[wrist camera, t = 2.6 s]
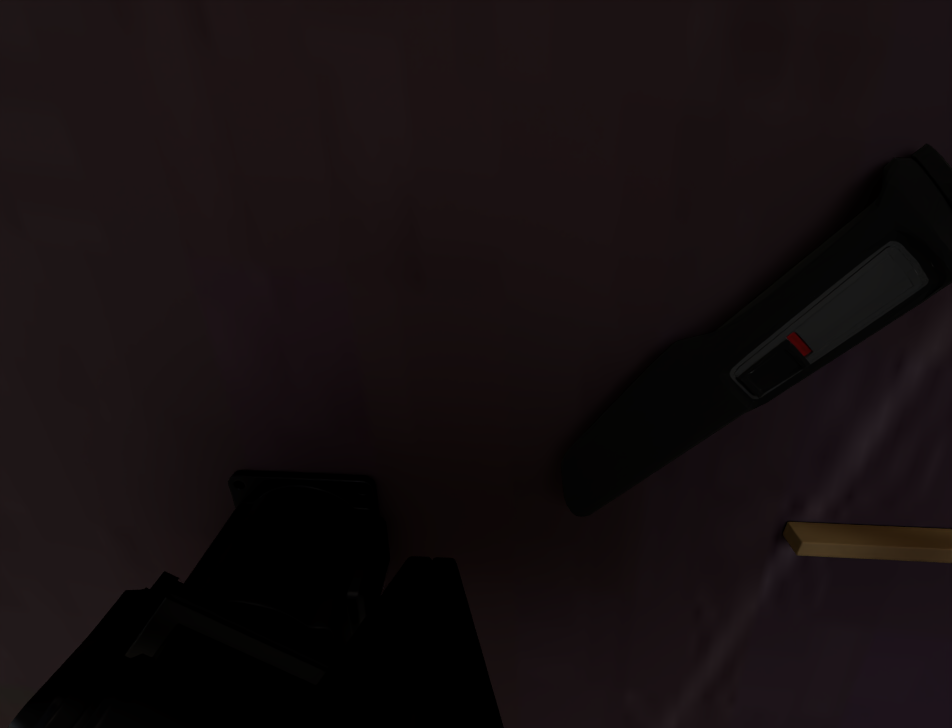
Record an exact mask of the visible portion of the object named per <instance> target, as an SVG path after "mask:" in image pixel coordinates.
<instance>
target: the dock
mask: <svg viewBox="0 0 952 728" xmlns="http://www.w3.org/2000/svg"><path fill="white" fill-rule="evenodd" d="M783 536H784V537H785V539H786V540H787V542H788V543H789V545H790V546H791V548H792V549H793V551H794V552H795V554H796V555H799V556H820V557H841V558H862V559H882V560H903V561H924V562H944V563H952V529H939V528H917V527H895V526H873V525H851V524H829V523H807V522H787V525H786V527H785V530H784V532H783Z"/></svg>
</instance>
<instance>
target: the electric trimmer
mask: <svg viewBox="0 0 952 728" xmlns="http://www.w3.org/2000/svg"><path fill="white" fill-rule="evenodd" d="M912 156H913V159H914V160H913V159H911V158H894V159H893V160H892V161H890V162H889V163H888V164H887V165H886V166H885V167H884V169H883V182H882V190H881V192H880V194H879V196H878V198H877V199H876V200H875V201H874V202H873V203H872V204H871V205H869V206H868V207H867V208H866V209H865V210H863V211H862V212H861V213H860V214H858V215H857V216H856V217H855V218H853V219H852V220H851V221H850V222H849V223H847V224H846V225H845V226H844V227H842V228H841V229H840V230H839V231H837V232H836V233H835V234H834V235H833V236H831V237H830V238H829V239H828V240H826V241H825V242H824V243H823V244H822V245H820V246H819V247H818V248H817V249H815V250H814V251H813V252H812V253H810V254H809V255H808V256H807V257H806V258H804V259H803V260H802V261H801V262H799V263H798V264H797V265H796V266H794V267H793V268H792V269H791V270H790V271H788V272H787V273H786V274H785V275H783V276H782V277H781V278H780V279H778V280H777V281H776V282H775V283H774V284H772V285H771V286H770V287H769V288H767V289H766V290H765V291H764V292H762V293H761V294H760V295H759V296H758V297H756V298H755V299H754V300H753V301H751V302H750V303H749V304H748V305H747V306H745V307H744V308H743V309H742V310H740V311H739V312H738V313H737V314H735V315H734V316H733V317H732V318H731V319H729V320H728V321H727V322H726V323H724V324H723V325H722V326H721V327H719V328H718V329H717V330H716V331H714V332H711V333H708V334H704V335H700V336H696V337H691V338H687V339H683V340H678V341H677V342H675V343H674V344H672V345H671V346H670V347H669V348H668V349H667V350H666V351H665V352H664V353H663V354H661V355H660V356H659V357H658V358H657V359H656V360H655V361H654V362H653V363H652V364H651V365H650V366H649V367H648V368H647V369H646V370H645V371H644V372H643V373H642V374H641V375H640V376H639V377H638V378H637V379H636V380H635V381H634V382H633V383H632V384H631V385H630V386H629V388H628V389H627V390H626V391H625V392H624V393H623V394H622V395H621V396H620V397H619V398H618V399H617V400H616V401H615V402H614V403H613V404H612V405H611V406H610V407H609V408H608V409H607V410H606V411H605V412H604V413H603V414H602V415H601V416H600V417H599V419H598V420H597V421H596V422H595V423H594V424H593V425H592V426H591V427H590V428H589V429H588V430H587V431H586V432H585V433H584V434H583V435H582V436H581V437H580V438H579V439H578V440H577V441H576V442H575V443H574V444H573V445H572V446H571V447H570V448H569V450H568V451H567V452H566V454H565V455H564V457H563V460H562V463H561V474H562V483H563V492H564V498H565V501H566V504H567V506H568V507H569V509H570V511H571V512H572V513H573V514H574V515H576V516H588V515H590V514H592V513H594V512H595V511H597V510H598V509H600V508H601V507H603V506H604V505H606V504H607V503H609V502H610V501H612V500H613V499H615V498H616V497H618V496H619V495H621V494H622V493H624V492H625V491H627V490H629V489H630V488H632V487H633V486H635V485H636V484H638V483H639V482H641V481H642V480H644V479H645V478H647V477H648V476H650V475H651V474H653V473H654V472H656V471H657V470H659V469H660V468H662V467H664V466H665V465H667V464H668V463H670V462H671V461H673V460H674V459H676V458H677V457H679V456H680V455H682V454H683V453H685V452H686V451H688V450H689V449H691V448H692V447H694V446H695V445H697V444H699V443H700V442H702V441H703V440H705V439H706V438H708V437H709V436H711V435H712V434H714V433H715V432H717V431H718V430H720V429H721V428H723V427H724V426H726V425H727V424H729V423H730V422H732V421H734V420H735V419H737V418H738V417H740V416H741V415H743V414H744V413H746V412H748V411H750V410H753V409H755V408H757V407H759V406H761V405H763V404H765V403H767V402H768V401H770V400H772V399H773V398H775V397H776V396H778V395H779V394H781V393H782V392H784V391H786V390H787V389H789V388H790V387H792V386H793V385H795V384H796V383H798V382H800V381H801V380H803V379H804V378H806V377H807V376H809V375H810V374H812V373H814V372H815V371H817V370H818V369H820V368H821V367H823V366H824V365H826V364H827V363H829V362H831V361H832V360H834V359H835V358H837V357H838V356H840V355H841V354H843V353H845V352H846V351H848V350H849V349H851V348H852V347H854V346H855V345H857V344H859V343H860V342H862V341H863V340H865V339H866V338H868V337H869V336H871V335H872V334H874V333H876V332H877V331H879V330H880V329H882V328H883V327H885V326H886V325H888V324H890V323H891V322H893V321H894V320H896V319H897V318H899V317H900V316H902V315H904V314H905V313H907V312H908V311H910V310H911V309H913V308H914V307H916V306H917V305H919V304H921V303H922V302H924V301H925V300H927V299H928V298H929V297H931V296H932V295H934V294H935V293H937V292H938V291H940V290H941V289H943V288H944V287H946V286H947V285H949V284H951V283H952V168H951V167H950V165H949V164H948V163H947V162H946V161H945V160H944V159H943V157H942V156H941V155H940V154H939V153H938V152H937V151H936V150H935V149H934V148H933V147H931V146H930V145H928V144H925V145H924V146H923V147H922V148H920V149H919V150H918V151H917V152H915V153H914V154H913V155H912Z"/></svg>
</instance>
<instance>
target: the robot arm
mask: <svg viewBox="0 0 952 728" xmlns="http://www.w3.org/2000/svg"><path fill="white" fill-rule="evenodd" d="M240 481H242V482H243V483H242V482H240ZM228 485H229V488H230V491H231V495H232V498H233V501H234V505H235V508H236V509H235V510H234V512H233V513H232V515H231V516H230V518H229V519H228V521H227V522H226V523H225V525H224V526H223V528H222V529H221V531H220V532H219V534H218V535H217V536H216V538H215V539H214V541H213V542H212V544H211V545H210V547H209V548H208V549H207V551H206V552H205V554H204V555H203V557H202V558H201V560H200V561H199V562H198V564H197V565H196V567H195V568H194V570H193V571H192V573H191V574H190V575H189V577H188V578H187V580H186V581H185V583H184V584H183V583H181V582H179V581H178V579H179V578H178V577H176V576H174V575H172V574H169V573H167V572H165V571H164V572H163V573H162V575H161V576H160V577H159V579H158V580H157V581H156V582H155V584H154V585H153V586H152V588H151V589H148V588H145V589H142V590H125V592H124V593H123V594H122V595H121V597H120V598H119V599H118V600H117V602H116V603H115V604H114V605H113V606H112V608H111V609H110V610H109V611H108V613H107V614H106V615H105V616H104V618H103V619H102V620H101V621H100V623H99V624H98V625H97V626H96V627H95V629H94V630H93V631H92V632H91V633H90V635H89V636H88V637H87V638H86V639H85V640H84V641H83V643H82V644H81V645H80V646H79V647H78V648H77V649H76V650H75V651H74V652H73V654H72V655H71V656H70V657H69V658H68V659H67V660H66V661H65V662H64V663H63V664H62V666H61V667H60V668H59V669H58V670H57V671H56V672H55V673H54V674H53V675H52V676H51V677H50V679H49V680H48V681H47V682H46V683H45V684H44V685H43V686H42V687H41V688H40V689H39V690H38V692H37V693H36V694H35V695H34V696H33V697H32V698H31V699H30V700H29V701H28V702H27V704H26V705H25V706H24V707H23V708H22V709H21V711H20V712H19V713H18V714H17V716H16V717H15V718H14V720H13V721H12V722H11V724H10V725H9V726H8V728H504V727H503V724H502V720H501V717H500V713H499V710H498V706H497V703H496V699H495V696H494V692H493V689H492V685H491V682H490V678H489V675H488V671H487V668H486V664H485V661H484V657H483V654H482V650H481V647H480V643H479V640H478V636H477V633H476V629H475V626H474V622H473V619H472V615H471V612H470V608H469V605H468V601H467V598H466V594H465V591H464V587H463V584H462V580H461V577H460V573H459V570H458V566H457V563H456V561H455V559H453V558H442V557H436V558H434V559H433V560H432V559H431V558H430V557H421V556H411V557H409V558H408V559H407V560H406V561H405V563H404V564H403V565H402V567H401V568H400V570H399V571H398V572H397V574H396V575H395V576H394V578H393V579H392V581H391V582H390V583H389V585H388V586H387V588H386V589H385V590H384V592H383V593H382V595H381V592H382V588H383V584H384V580H385V576H386V573H387V569H388V565H389V561H390V552H389V543H388V534H387V525H386V521H385V520H384V519H383V518H382V517H379V508H378V500H377V491H376V484H375V481H374V480H373V479H372V478H370V477H368V476H364V475H342V474H318V473H294V472H271V471H247V470H239V471H236V472H234V474H233V475H232V476H231V478H230V479H229V481H228ZM360 486H364V487H366V489H364V488H362V487H360ZM380 595H381V596H380Z"/></svg>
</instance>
